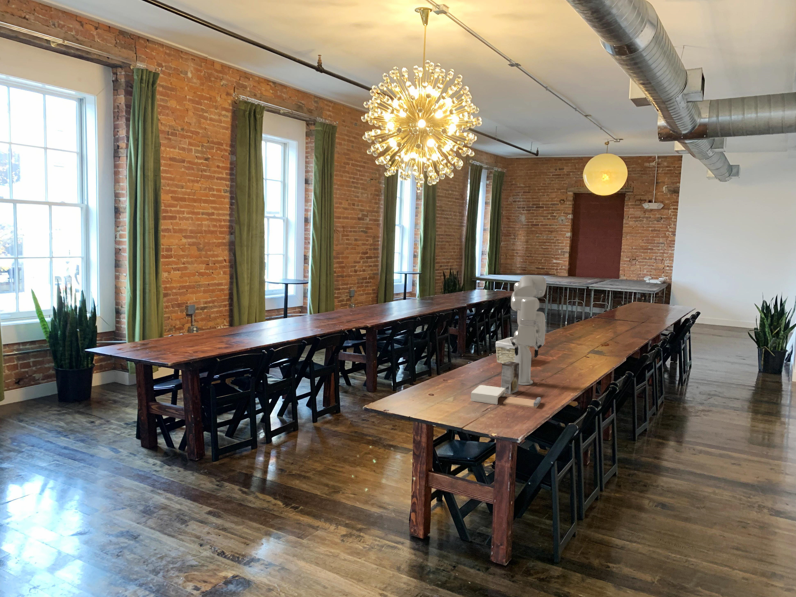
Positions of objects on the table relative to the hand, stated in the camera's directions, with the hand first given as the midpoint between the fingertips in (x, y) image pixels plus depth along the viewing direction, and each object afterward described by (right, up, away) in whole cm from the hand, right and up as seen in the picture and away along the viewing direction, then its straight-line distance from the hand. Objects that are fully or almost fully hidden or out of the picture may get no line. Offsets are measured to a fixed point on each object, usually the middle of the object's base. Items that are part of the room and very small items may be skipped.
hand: (526, 356), depth 296 cm
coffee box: (-3, -23, +27) cm, 35 cm away
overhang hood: (-17, -24, +13) cm, 32 cm away
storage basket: (+13, -14, +104) cm, 106 cm away
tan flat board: (-1, -25, +5) cm, 26 cm away
